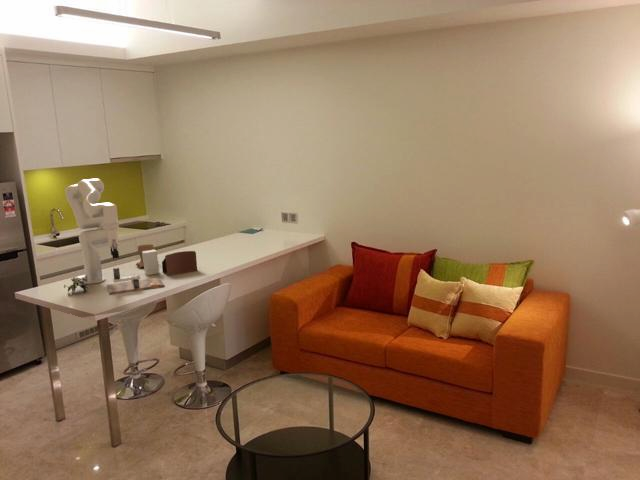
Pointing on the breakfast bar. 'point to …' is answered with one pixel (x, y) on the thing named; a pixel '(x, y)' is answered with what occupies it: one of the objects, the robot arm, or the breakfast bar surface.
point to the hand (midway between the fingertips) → (115, 256)
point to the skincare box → (150, 262)
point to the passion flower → (78, 282)
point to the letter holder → (179, 263)
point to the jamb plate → (130, 286)
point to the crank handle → (118, 279)
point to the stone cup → (141, 248)
